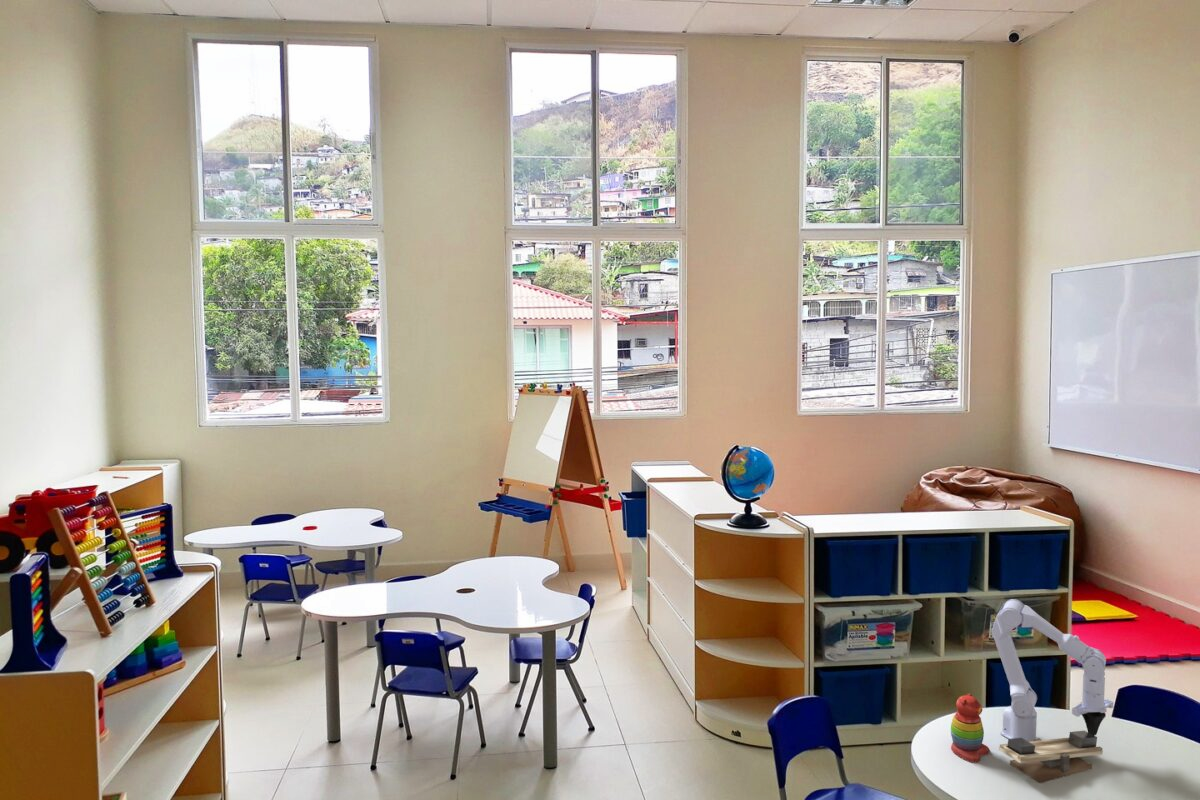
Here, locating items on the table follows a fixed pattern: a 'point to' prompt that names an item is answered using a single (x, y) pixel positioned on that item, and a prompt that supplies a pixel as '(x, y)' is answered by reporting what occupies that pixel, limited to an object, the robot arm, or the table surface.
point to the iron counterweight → (1021, 746)
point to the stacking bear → (968, 730)
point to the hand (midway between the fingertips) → (1092, 733)
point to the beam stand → (1052, 767)
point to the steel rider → (1082, 739)
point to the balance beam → (1050, 751)
